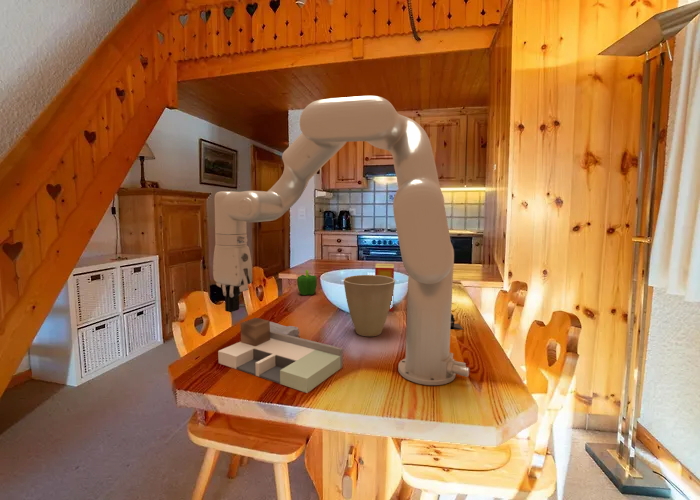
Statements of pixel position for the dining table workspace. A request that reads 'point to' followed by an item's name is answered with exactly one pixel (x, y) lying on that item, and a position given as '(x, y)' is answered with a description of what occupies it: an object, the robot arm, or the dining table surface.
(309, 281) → the bell pepper
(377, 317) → the plant pot
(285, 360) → the box
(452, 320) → the build plate
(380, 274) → the baking soda box
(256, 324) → the walnut cube
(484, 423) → the dining table surface
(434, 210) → the robot arm
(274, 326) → the stone block
